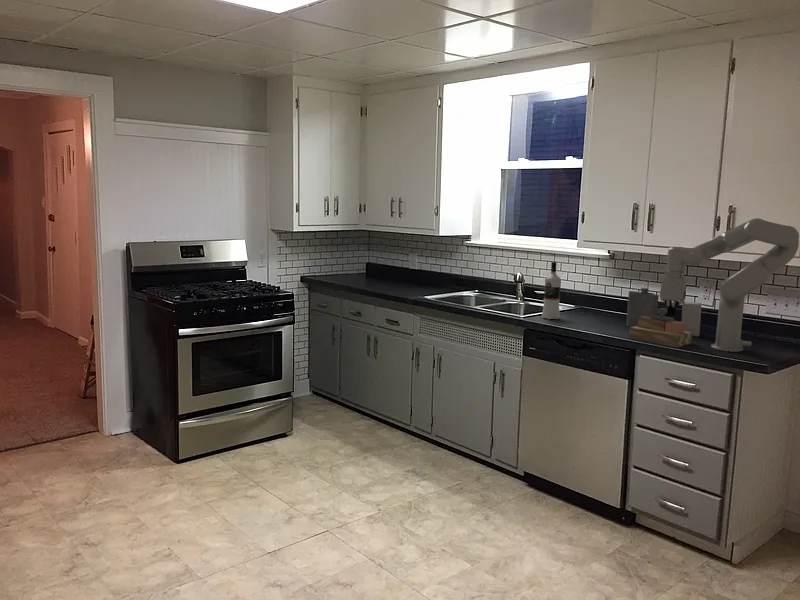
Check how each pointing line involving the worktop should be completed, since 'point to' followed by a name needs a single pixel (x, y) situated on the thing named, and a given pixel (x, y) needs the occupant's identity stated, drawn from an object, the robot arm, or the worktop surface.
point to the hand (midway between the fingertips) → (670, 315)
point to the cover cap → (674, 327)
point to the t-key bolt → (662, 315)
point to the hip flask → (641, 306)
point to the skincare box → (692, 317)
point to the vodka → (552, 295)
